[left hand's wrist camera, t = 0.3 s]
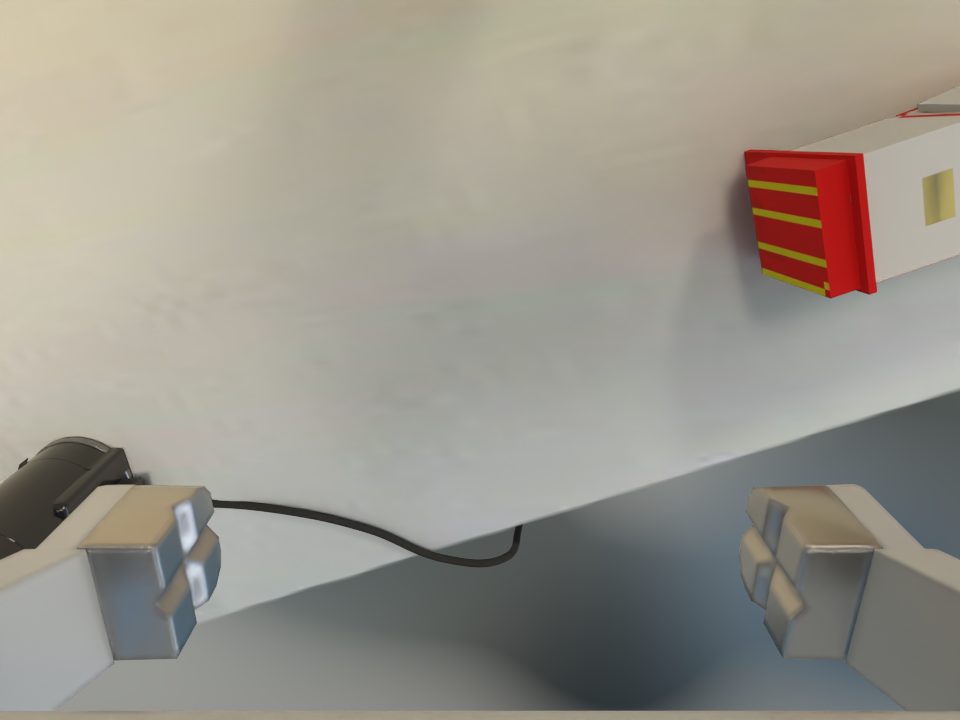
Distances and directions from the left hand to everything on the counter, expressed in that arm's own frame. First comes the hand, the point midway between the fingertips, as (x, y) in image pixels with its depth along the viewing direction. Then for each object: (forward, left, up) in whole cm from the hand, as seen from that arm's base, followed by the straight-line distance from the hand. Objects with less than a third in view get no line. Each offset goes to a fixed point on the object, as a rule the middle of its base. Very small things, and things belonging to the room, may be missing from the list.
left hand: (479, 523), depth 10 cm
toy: (-2, +35, -48) cm, 59 cm away
